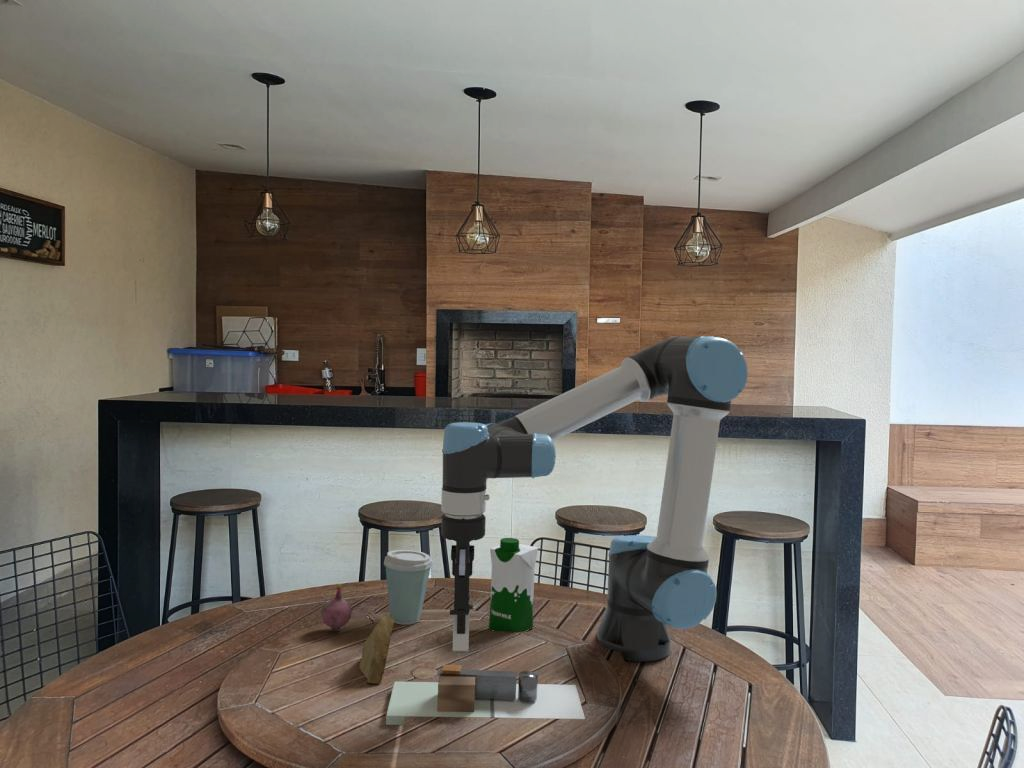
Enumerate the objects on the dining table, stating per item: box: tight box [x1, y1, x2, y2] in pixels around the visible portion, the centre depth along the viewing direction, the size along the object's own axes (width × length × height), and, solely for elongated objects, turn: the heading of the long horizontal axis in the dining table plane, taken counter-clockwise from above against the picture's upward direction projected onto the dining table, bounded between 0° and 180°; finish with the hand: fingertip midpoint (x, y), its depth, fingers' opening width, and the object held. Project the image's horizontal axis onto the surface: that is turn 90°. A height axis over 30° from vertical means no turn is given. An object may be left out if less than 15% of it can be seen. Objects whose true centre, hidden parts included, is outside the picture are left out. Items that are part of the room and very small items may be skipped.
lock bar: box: [438, 664, 539, 702], centre depth 125 cm, size 17×3×5 cm, turn 89°
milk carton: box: [488, 537, 539, 633], centre depth 160 cm, size 9×9×20 cm
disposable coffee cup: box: [383, 549, 433, 626], centre depth 163 cm, size 11×11×15 cm
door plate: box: [385, 681, 586, 726], centre depth 125 cm, size 32×12×2 cm, turn 93°
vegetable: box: [320, 582, 353, 631], centre depth 155 cm, size 6×6×10 cm
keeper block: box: [437, 675, 475, 712], centre depth 122 cm, size 6×3×4 cm, turn 93°
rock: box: [358, 614, 394, 685], centre depth 137 cm, size 11×9×10 cm
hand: (460, 649), depth 127 cm, fingers closed
